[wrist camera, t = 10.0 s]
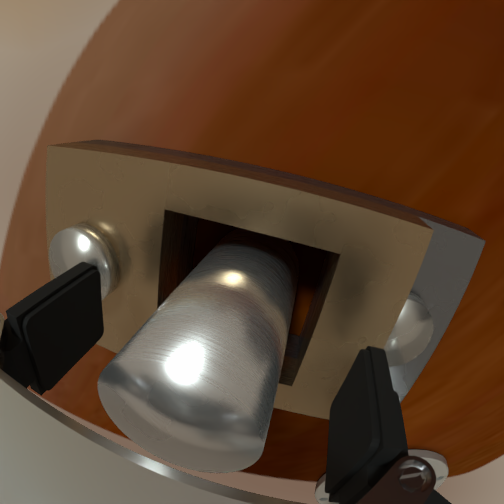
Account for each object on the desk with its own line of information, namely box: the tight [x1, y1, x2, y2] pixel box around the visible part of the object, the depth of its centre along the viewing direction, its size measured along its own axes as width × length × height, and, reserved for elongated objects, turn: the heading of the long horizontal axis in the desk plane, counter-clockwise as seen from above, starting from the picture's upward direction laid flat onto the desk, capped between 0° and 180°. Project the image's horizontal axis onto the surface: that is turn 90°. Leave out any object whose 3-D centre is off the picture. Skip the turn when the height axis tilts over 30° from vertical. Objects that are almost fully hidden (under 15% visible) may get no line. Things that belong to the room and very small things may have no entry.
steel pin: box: [98, 228, 299, 473], centre depth 11 cm, size 4×4×10 cm
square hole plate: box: [46, 140, 485, 419], centre depth 13 cm, size 20×10×5 cm, turn 79°
